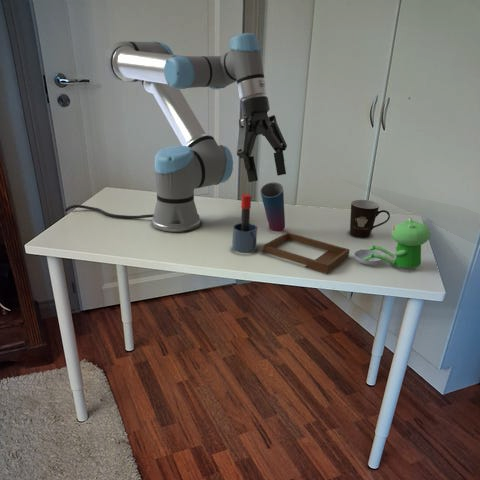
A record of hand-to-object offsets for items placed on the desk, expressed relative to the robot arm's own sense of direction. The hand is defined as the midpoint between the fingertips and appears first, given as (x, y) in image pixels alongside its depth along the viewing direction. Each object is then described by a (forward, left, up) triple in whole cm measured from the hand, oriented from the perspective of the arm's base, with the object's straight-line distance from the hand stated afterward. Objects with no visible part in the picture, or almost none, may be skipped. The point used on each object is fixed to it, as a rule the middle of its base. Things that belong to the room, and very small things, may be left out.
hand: (268, 178), depth 136 cm
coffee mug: (+23, +24, -19) cm, 38 cm away
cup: (-1, +10, -18) cm, 21 cm away
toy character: (+37, +9, -19) cm, 42 cm away
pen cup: (0, -10, -19) cm, 21 cm away
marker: (0, -10, -18) cm, 21 cm away
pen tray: (+16, -2, -19) cm, 25 cm away
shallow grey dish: (+31, +9, -21) cm, 38 cm away
